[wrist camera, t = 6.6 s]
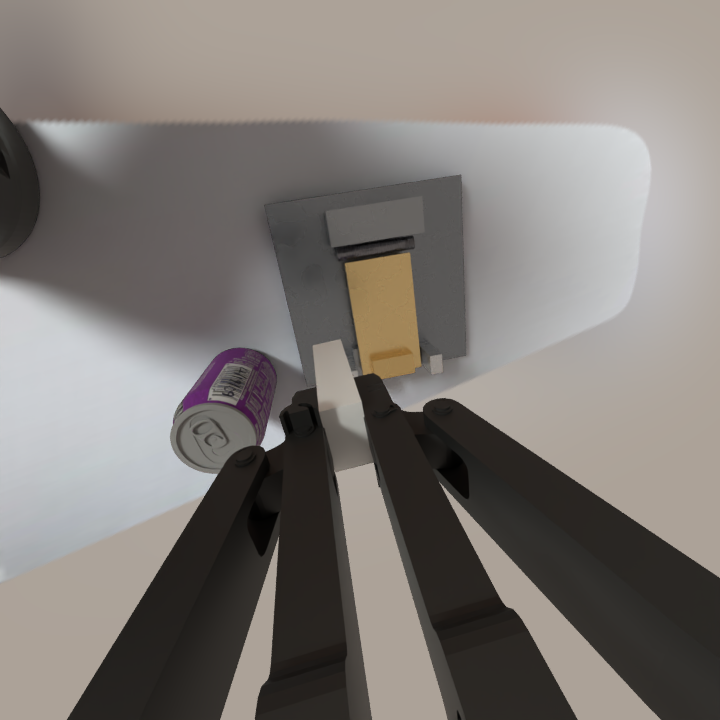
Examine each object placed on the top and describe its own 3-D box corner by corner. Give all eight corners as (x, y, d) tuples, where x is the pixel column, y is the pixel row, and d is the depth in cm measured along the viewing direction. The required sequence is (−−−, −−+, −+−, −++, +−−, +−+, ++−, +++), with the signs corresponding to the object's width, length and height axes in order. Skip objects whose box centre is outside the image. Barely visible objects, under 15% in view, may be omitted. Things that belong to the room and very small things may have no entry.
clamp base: (307, 380, 37) (306, 404, 32) (266, 206, 30) (257, 201, 25) (460, 350, 39) (483, 369, 33) (454, 177, 32) (481, 166, 27)
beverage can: (194, 367, 35) (140, 431, 24) (250, 333, 34) (222, 381, 23) (237, 415, 38) (206, 493, 27) (290, 384, 37) (281, 449, 26)
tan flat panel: (357, 374, 34) (360, 383, 32) (335, 248, 30) (337, 247, 28) (422, 362, 35) (430, 369, 33) (410, 235, 31) (417, 234, 28)
